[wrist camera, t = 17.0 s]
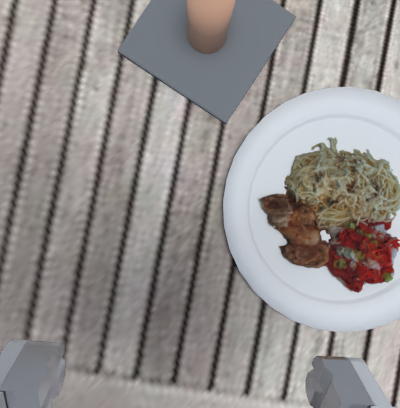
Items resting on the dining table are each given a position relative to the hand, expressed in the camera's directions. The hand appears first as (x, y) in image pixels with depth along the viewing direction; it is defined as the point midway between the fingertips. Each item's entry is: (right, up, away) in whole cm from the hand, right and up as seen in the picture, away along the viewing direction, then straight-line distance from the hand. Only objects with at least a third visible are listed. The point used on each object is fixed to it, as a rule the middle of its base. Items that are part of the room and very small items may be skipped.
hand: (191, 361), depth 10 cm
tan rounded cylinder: (+1, +26, +28) cm, 38 cm away
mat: (+1, +26, +29) cm, 39 cm away
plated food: (+18, +5, +30) cm, 35 cm away
